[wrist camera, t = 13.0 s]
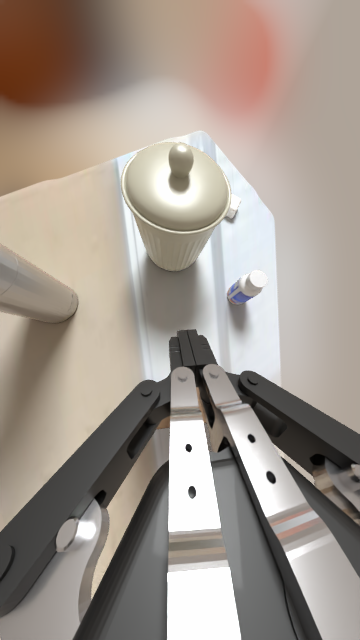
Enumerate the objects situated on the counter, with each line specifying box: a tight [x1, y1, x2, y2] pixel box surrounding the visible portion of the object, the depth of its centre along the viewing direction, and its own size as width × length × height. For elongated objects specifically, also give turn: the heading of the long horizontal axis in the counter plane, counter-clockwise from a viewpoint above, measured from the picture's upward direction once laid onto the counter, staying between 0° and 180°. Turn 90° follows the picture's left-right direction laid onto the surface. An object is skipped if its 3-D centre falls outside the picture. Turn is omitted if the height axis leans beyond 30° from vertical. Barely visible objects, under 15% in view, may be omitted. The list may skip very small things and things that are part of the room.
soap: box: [226, 194, 241, 218], centre depth 43 cm, size 9×6×3 cm, turn 65°
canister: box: [121, 142, 231, 271], centre depth 29 cm, size 18×18×21 cm
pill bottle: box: [227, 270, 268, 305], centre depth 34 cm, size 5×5×10 cm
